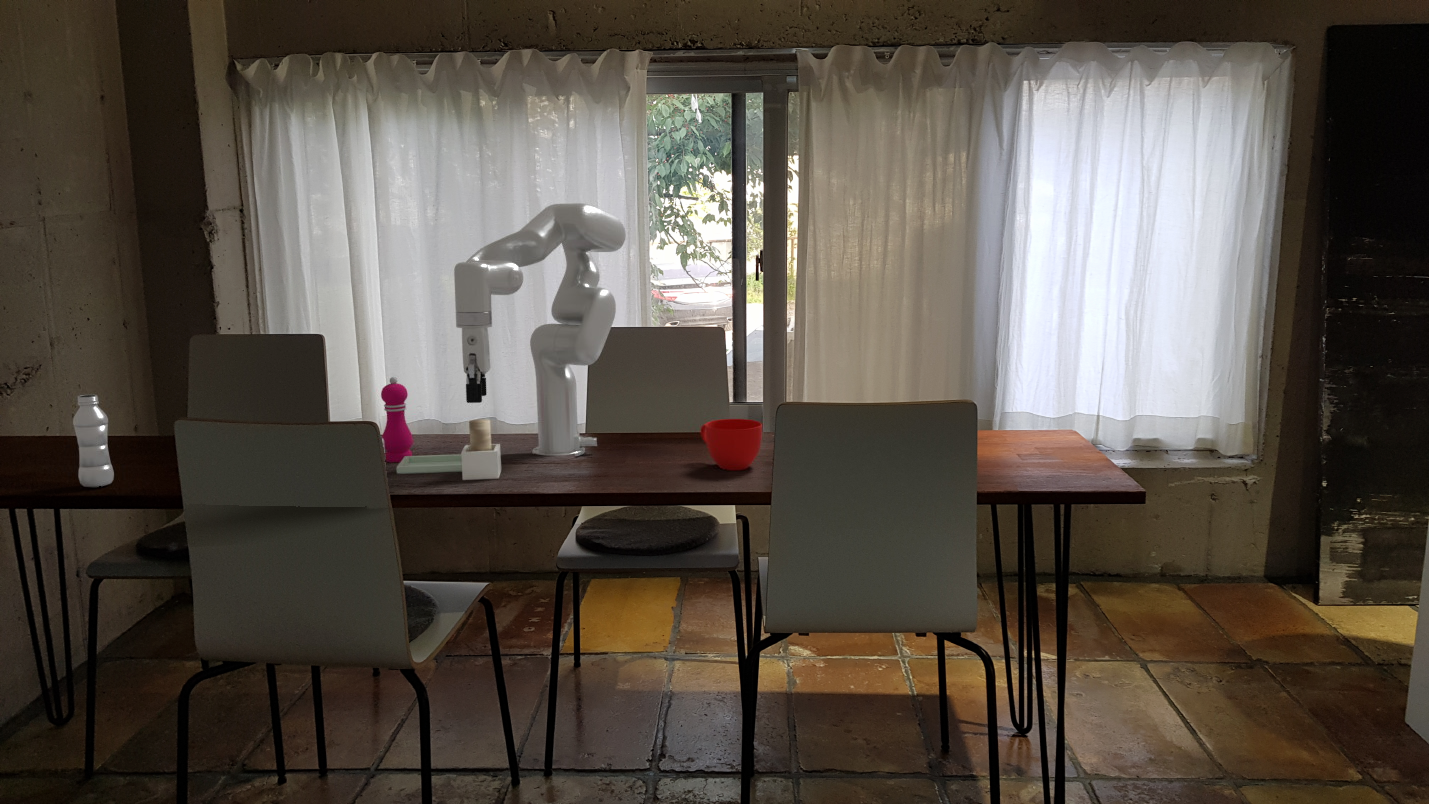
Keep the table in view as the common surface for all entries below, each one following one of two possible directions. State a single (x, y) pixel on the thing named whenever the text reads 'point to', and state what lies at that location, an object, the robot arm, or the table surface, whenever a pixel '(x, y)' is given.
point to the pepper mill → (396, 422)
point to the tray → (430, 464)
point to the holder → (481, 463)
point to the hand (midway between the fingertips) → (476, 399)
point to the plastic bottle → (92, 443)
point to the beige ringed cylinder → (480, 435)
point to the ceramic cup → (733, 442)
